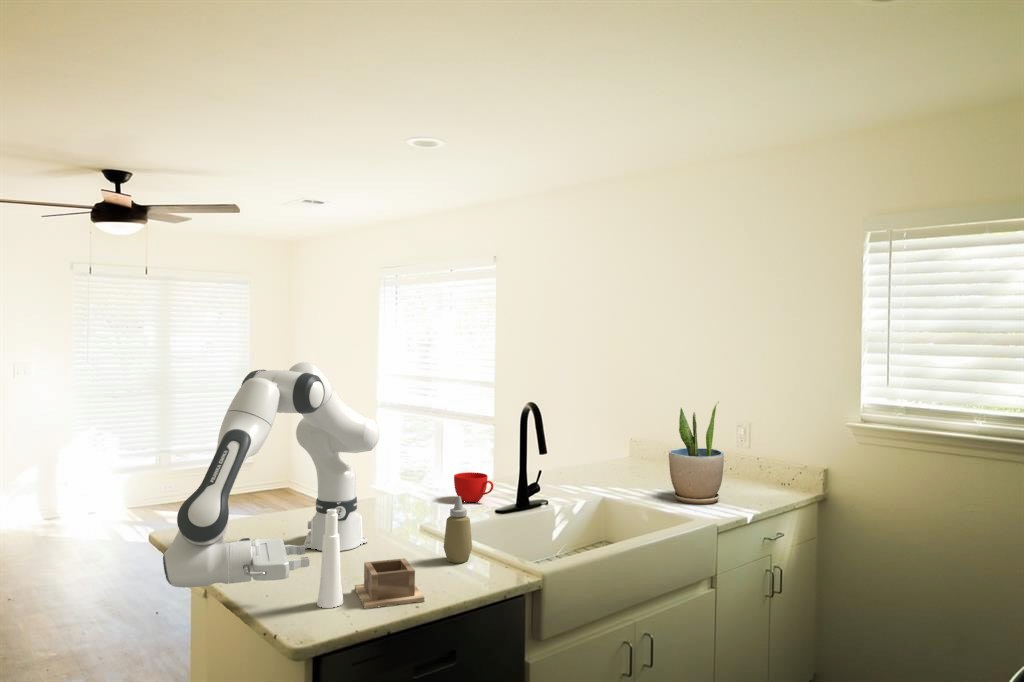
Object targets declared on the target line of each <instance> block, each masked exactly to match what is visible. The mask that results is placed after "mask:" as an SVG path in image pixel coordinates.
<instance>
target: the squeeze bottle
mask: <svg viewBox="0 0 1024 682" xmlns="http://www.w3.org/2000/svg"><path fill="white" fill-rule="evenodd" d="M455 497H456V498H455V501H454V505H453V507H452V508H451V509H449V516H448V517H447V518H446V525H445V531H444V541H443V551H444V553H445V557H446V559H447V561H448V562H449V563H452V564H453V563H454V564H460V563H461V564H462V563H466V562H468V560H469V559H470V555H471V553H472V549H473V540H472V529H471V528H472V527H471V519H470V517H469V516H467V514H468V512H467V510H468V509H466V508H464V506H463V502H462V501H461V496H458V495H456V496H455Z"/></svg>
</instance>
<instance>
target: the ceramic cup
mask: <svg viewBox="0 0 1024 682" xmlns="http://www.w3.org/2000/svg"><path fill="white" fill-rule="evenodd" d="M453 484H454V490H455V493H456V496H461V500H462V501H465V502H477V503H479V502H480V501H481V499H482V498H483V497H484V495H485V496H486V495H488V494H490V493H491V492H493V490H494V482H493V481H491V480H488V474H486V473H482V472H475V471H473V472H472V471H471V472H470V471H469V472H461V473H460V472H459V473H455V474H454V476H453ZM488 484H489V485H490V488H489V490H488V491H487V487H488ZM478 501H479V502H478Z"/></svg>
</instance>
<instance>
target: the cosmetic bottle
mask: <svg viewBox="0 0 1024 682" xmlns="http://www.w3.org/2000/svg"><path fill="white" fill-rule="evenodd" d="M336 512H337V510H336V509H328V510H327V514H326V516H325V535H324V536H323V547H322V551H321V567H320V579H319V582H320V583H319V589H318V594H317V595H318V597H317V602H316V605H317V607H319V608H321V607H322V608H321V609H334V608H333V607H335V608H338V607H337V606H339V607H341V606H342V605H343V604H344V602H345V601H344V596H343V588H342V574H341V573H342V571H341V551H340V542H339V534H337V526H338V514H337V513H336ZM340 605H341V606H340Z"/></svg>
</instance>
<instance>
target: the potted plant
mask: <svg viewBox="0 0 1024 682" xmlns="http://www.w3.org/2000/svg"><path fill="white" fill-rule="evenodd" d="M719 403H720V401H717V402H716V404H715V405H714V406H713V409H712V413H711V417H710V420H709V425H708V426H707V430H706V434H705V444H706V448H705V447H704V448H703V447H698V446H699V445H698V433H697V421H696V420H697V417H696V411H693V414H692V429H691V428H690V425H689V422H688V419H687V418H686V415H685V412H684V410H683V408H682V407H680V410H679V419H678V424H679V426H678V432H679V436H680V439H681V441H682V442H683V444H684V446H685V447H681V448H673V449H670V450H669V451H668V462H669V465H668V466H669V473H670V480H671V483H672V487H673V489H674V491H675V492H674V493H673V497H674V498H675V499H676V500H677V501H679V502H682V503H687V504H696V505H697V504H698V505H699V504H700V505H701V504H703V505H705V504H713V503H716V502H717V501H718V500H719V499H720V494H719V491H720V489H721V486H722V481H723V474H724V463H725V462H724V460H725V459H724V457H725V456H724V452H723V451H721V450H719V449H717V448H716V449H715V448H712V447H713V437H714V429H715V417H716V409H717V405H718V404H719Z"/></svg>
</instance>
